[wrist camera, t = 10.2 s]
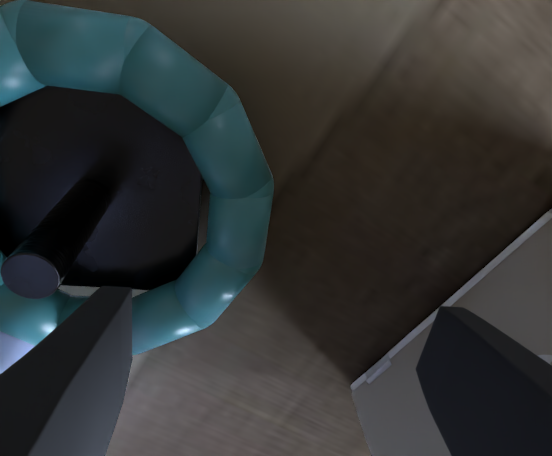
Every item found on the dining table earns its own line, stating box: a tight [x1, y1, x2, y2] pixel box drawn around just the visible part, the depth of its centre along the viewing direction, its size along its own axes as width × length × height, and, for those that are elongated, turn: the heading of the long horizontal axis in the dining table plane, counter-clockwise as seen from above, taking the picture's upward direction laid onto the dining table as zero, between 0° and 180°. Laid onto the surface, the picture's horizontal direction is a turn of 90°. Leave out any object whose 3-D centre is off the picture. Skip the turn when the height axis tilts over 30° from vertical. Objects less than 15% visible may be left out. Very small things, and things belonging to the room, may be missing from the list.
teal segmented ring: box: [0, 0, 274, 355], centre depth 16 cm, size 14×14×2 cm
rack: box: [0, 85, 203, 299], centre depth 15 cm, size 9×9×7 cm
